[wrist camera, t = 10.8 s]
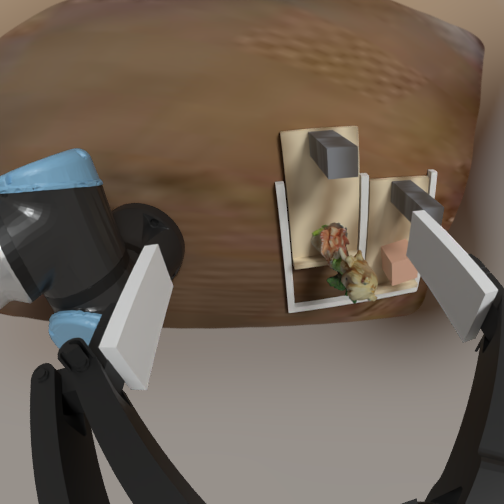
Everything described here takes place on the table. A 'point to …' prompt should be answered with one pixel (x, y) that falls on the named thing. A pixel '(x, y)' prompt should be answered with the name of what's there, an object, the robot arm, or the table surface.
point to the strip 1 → (320, 187)
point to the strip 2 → (395, 219)
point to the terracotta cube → (397, 262)
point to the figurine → (345, 263)
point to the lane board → (360, 245)
